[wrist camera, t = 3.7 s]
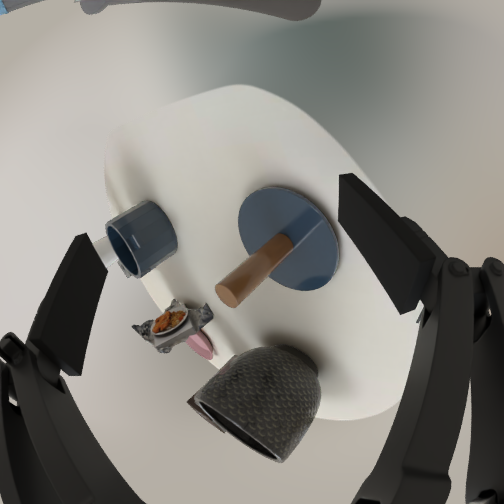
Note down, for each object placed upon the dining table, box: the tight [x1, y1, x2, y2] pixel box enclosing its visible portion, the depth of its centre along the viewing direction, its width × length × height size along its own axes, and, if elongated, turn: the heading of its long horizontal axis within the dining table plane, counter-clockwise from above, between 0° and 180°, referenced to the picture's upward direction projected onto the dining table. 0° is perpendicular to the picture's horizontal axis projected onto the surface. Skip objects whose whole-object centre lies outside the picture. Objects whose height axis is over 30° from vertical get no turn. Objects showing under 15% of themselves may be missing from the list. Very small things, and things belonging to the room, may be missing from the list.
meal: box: [132, 299, 213, 353], centre depth 54 cm, size 15×4×13 cm, turn 121°
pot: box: [105, 200, 177, 278], centre depth 46 cm, size 11×17×8 cm
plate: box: [186, 330, 213, 360], centre depth 68 cm, size 14×14×2 cm
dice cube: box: [118, 260, 132, 278], centre depth 65 cm, size 5×5×5 cm
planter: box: [194, 345, 321, 463], centre depth 38 cm, size 17×17×16 cm
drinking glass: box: [92, 236, 118, 268], centre depth 55 cm, size 7×7×15 cm
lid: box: [215, 187, 339, 308], centre depth 26 cm, size 12×12×10 cm
